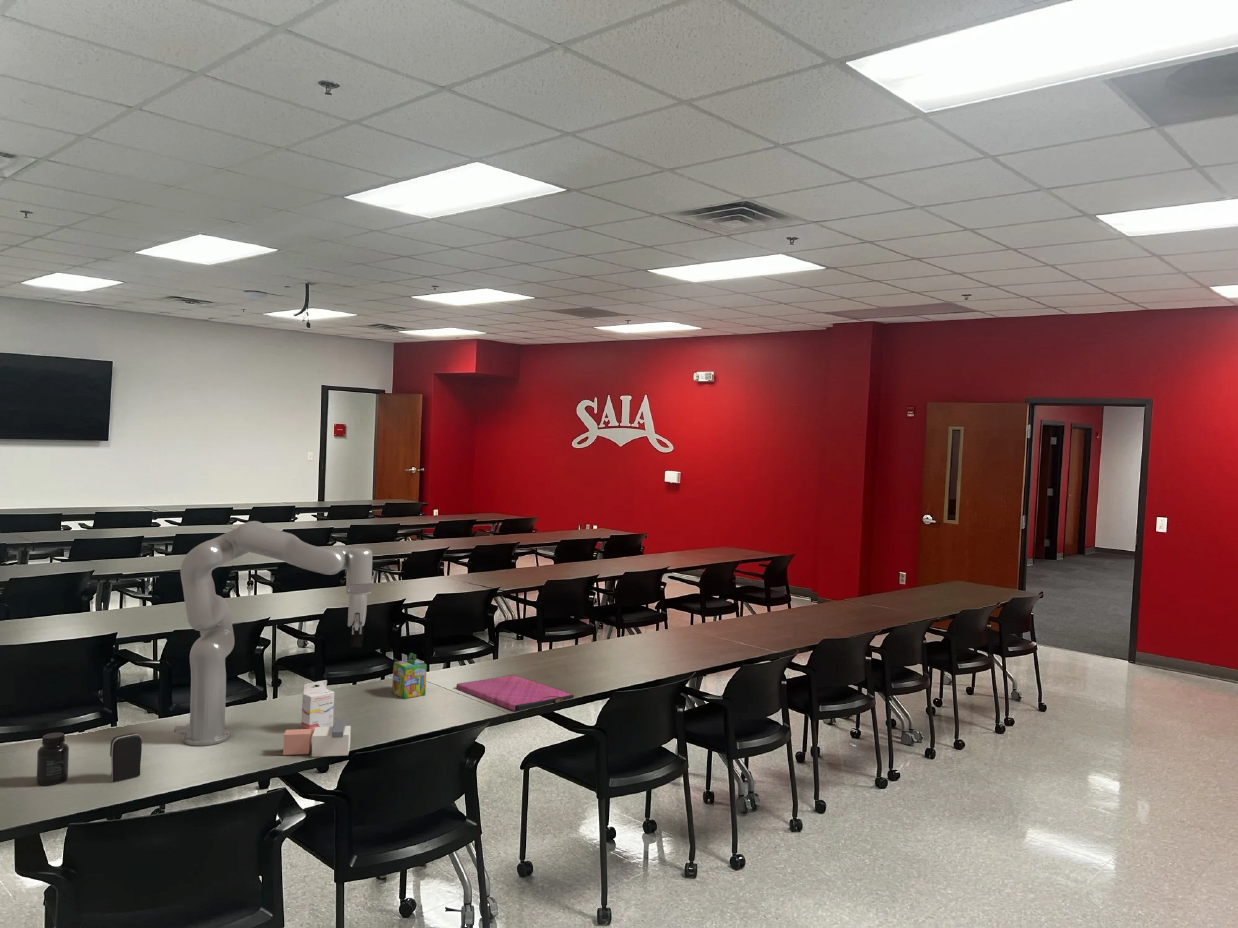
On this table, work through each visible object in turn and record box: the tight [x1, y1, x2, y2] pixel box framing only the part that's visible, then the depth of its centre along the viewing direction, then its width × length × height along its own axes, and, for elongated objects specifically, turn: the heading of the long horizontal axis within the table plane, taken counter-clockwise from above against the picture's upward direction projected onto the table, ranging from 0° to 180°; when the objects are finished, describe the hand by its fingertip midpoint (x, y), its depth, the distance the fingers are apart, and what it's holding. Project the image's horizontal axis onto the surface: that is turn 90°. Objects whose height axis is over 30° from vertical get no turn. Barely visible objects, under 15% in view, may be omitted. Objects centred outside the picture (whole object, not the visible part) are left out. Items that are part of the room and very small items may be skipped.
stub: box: [282, 728, 312, 756], centre depth 247 cm, size 7×4×6 cm, turn 104°
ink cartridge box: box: [300, 679, 335, 734], centre depth 267 cm, size 9×5×15 cm, turn 141°
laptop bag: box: [456, 674, 574, 712], centre depth 313 cm, size 40×4×27 cm
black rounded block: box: [109, 732, 143, 782], centre depth 224 cm, size 7×4×11 cm, turn 137°
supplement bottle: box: [36, 732, 70, 787], centre depth 220 cm, size 7×7×12 cm
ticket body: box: [309, 718, 352, 758], centre depth 249 cm, size 11×12×8 cm
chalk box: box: [391, 652, 428, 700], centre depth 307 cm, size 9×9×15 cm
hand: (357, 643), depth 262 cm, fingers open, 9 cm apart
